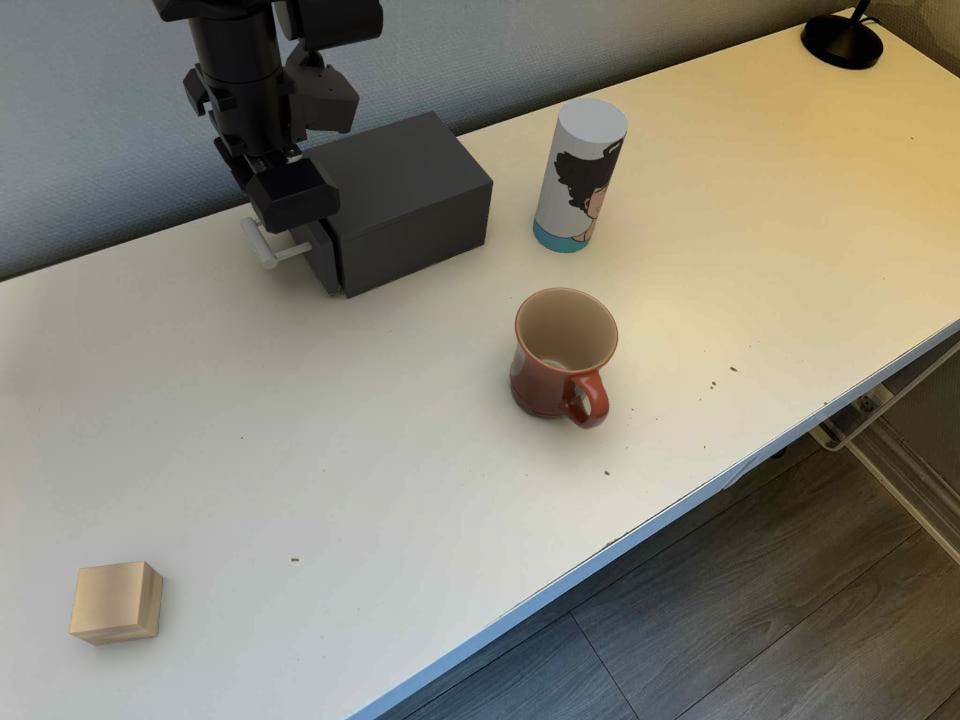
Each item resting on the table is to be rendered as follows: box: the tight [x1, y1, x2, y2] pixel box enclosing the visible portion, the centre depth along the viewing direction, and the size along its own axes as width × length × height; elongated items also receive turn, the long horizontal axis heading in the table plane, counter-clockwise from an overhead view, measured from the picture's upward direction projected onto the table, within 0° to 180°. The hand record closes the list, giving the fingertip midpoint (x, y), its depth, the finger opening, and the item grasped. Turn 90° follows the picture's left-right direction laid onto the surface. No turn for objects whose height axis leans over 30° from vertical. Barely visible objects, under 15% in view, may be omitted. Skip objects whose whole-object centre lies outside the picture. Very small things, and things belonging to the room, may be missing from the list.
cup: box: [532, 96, 629, 254], centre depth 69 cm, size 7×7×15 cm
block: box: [68, 560, 164, 646], centre depth 48 cm, size 4×4×4 cm
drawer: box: [239, 216, 341, 296], centre depth 67 cm, size 20×11×7 cm, turn 122°
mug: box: [509, 287, 619, 430], centre depth 59 cm, size 12×9×10 cm
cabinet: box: [301, 110, 495, 300], centre depth 69 cm, size 17×12×9 cm
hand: (274, 214), depth 62 cm, fingers closed
